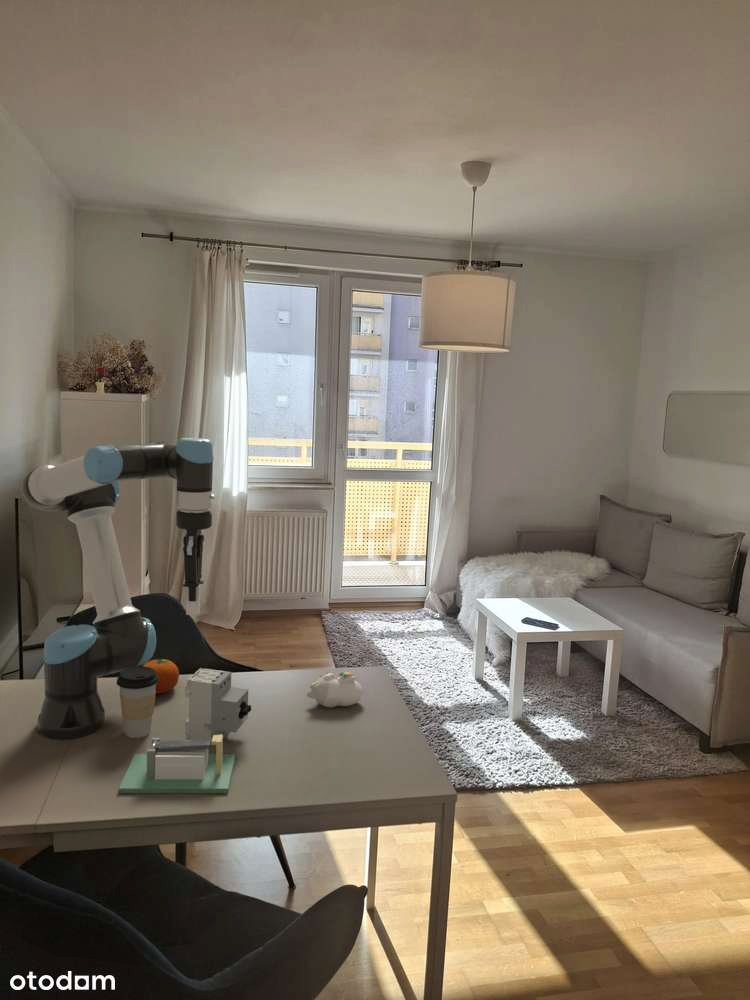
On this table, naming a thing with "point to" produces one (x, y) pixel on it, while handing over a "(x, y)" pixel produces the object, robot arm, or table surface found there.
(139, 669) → the coffee cup
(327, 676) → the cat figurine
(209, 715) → the circuit breaker
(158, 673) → the fruit
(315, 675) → the table surface
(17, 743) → the table surface
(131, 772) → the board
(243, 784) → the table surface
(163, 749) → the grey lever
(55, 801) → the table surface
